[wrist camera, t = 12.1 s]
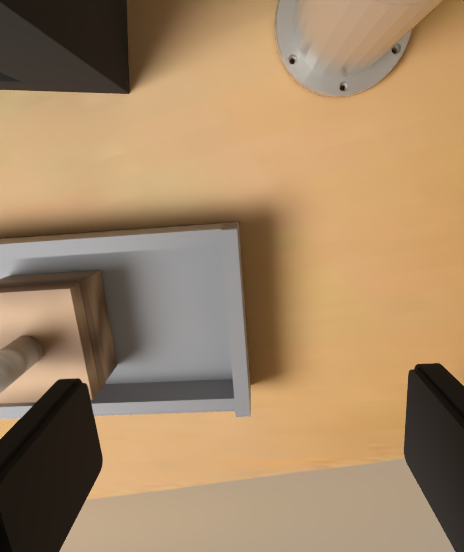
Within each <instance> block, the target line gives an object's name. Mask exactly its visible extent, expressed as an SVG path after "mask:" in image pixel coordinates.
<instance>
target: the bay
mask: <svg viewBox="0 0 464 552" xmlns="http://www.w3.org/2000/svg"><path fill="white" fill-rule="evenodd" d="M97 270H100V271H101V277H102V282H103V288H104V293H105V299H106V305H107V310H108V316H109V322H110V327H111V333H112V338H113V344H114V350H115V355H116V361H117V367H116V368H115V369H114V371H113V372H112V374H111V375H110V376H109V378H108V379H107V381H106V382H105V383H106V384H105V386H104V387H103V388H102V390H99V392H98V393H97V395H96V396H95V397H94V399H93V400H91V404H92V409H93V414H94V416H104V415H133V414H162V413H191V412H221V411H235V412H236V417H243V416H251V386H250V371H249V357H248V343H247V329H246V314H245V300H244V286H243V272H242V258H241V244H240V229H239V222H230V223H216V224H202V225H188V226H173V227H159V228H145V229H131V230H117V231H103V232H89V233H75V234H60V235H46V236H32V237H18V238H4V239H0V279H2V278H4V277H7V276H18V275H34V274H49V273H65V272H81V271H97ZM35 403H36V402H27V403H0V419H16V418H22V416H23V415H24V414H25V413H26V412H27V411H28V410H29V409H30V408H31V407H32V406H33V405H34V404H35Z"/></svg>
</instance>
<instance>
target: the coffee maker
mask: <svg viewBox="0 0 464 552" xmlns="http://www.w3.org/2000/svg"><path fill="white" fill-rule="evenodd" d="M0 90H29V91H59V92H90V93H120V94H129V66H128V37H127V7H126V0H0Z"/></svg>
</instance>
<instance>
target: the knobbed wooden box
mask: <svg viewBox="0 0 464 552" xmlns="http://www.w3.org/2000/svg"><path fill="white" fill-rule="evenodd" d="M116 367H117V361H116V355H115V350H114V344H113V338H112V333H111V327H110V322H109V316H108V310H107V305H106V299H105V293H104V288H103V282H102V277H101V271H100V270H97V271H81V272H65V273H49V274H34V275H18V276H7V277H4V278H2V279H0V403H27V402H37V401H38V400H39V399H40V398H41V397H42V396H43V395H44V394H45V393H46V392H47V391H48V389H49V388H50V387H51V386H52V385H53V384H54V383H55V382H56V381H57V380H59V379H73V378H79V379H81V381H82V383H86V384H87V386H88V389H89V394H90V399H91V400H93V399H94V397H95V396H96V395H97V393H98V392H99V390H102V388H103V387H104V386H105V384H106V383H105V382H106V381H107V379H108V378H109V376H110V375H111V374H112V372H113V371H114V369H115V368H116Z"/></svg>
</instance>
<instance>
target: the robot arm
mask: <svg viewBox="0 0 464 552" xmlns="http://www.w3.org/2000/svg"><path fill="white" fill-rule="evenodd" d="M442 1H443V0H279V2H278V6H277V11H276V18H275V40H276V44H277V49H278V53H279V55H280V58H281V60H282V63H283V65H284V67H285V68H286V70H287V71H288V73H289V74H290V76H291V77H292V78H293V79H294V80H295V81H296V82H297V83H298V84H299V85H300V86H302V87H303V88H305V89H306V90H308V91H310V92H312V93H315V94H317V95H320V96H324V97H330V98H341V97H348V96H352V95H356V94H359V93H361V92H363V91H365V90H367V89H369V88H371V87H372V86H374V85H375V84H377V83H378V82H379V81H380V80H382V79H383V78H384V77H385V76H386V75H387V74H388V73H389V72H390V71H391V70H392V69H393V68H394V66H395V65H396V64H397V63H398V61H399V60H400V58H401V56H402V55H403V53H404V51H405V49H406V46H407V44H408V41H409V39H410V36H411V32H412V29H413V28H414V27H415V26H416V25H417V24H418V23H419V22H420V21H421V20H422V19H423V18H424V17H425V16H427V15H428V14H429V13H430V12H431V11H432V10H433V9H434V8H435V7H436V6H437V5H438V4H439V3H440V2H442ZM392 49H393V50H395V54H393V53H392ZM290 60H294V62H295V63H294V64H290V62H289V61H290ZM340 86H343V87H344V91H341V90H340ZM404 455H405V459H406V462H407V464H408V466H409V468H410V470H411V472H412V473H413V475H414V477H415V479H416V481H417V483H418V484H419V486H420V488H421V490H422V492H423V494H424V495H425V497H426V499H427V501H428V503H429V504H430V506H431V508H432V510H433V512H434V513H435V515H436V517H437V518H438V521H439V522H440V524H441V526H442V528H443V530H444V532H445V533H446V535H447V537H448V539H449V540H450V542H451V544H452V546H453V548H454V550H455V551H456V552H464V386H463V385H462V384H461V383H460V382H459V381H458V380H457V379H456V378H455V377H454V376H453V375H452V374H450V373H449V372H448V371H447V370H446V369H445V368H444V367H443V366H442V365H441V364H439V363H434V364H417V365H416V366H415V369H414V370H410V371H409V375H408V390H407V407H406V424H405V440H404ZM102 461H103V459H102V453H101V448H100V443H99V438H98V433H97V428H96V424H95V419H94V414H93V409H92V404H91V399H90V394H89V389H88V386H87V384H86V383H82V381H81V379H79V378H73V379H59V380H57V381H56V382H55V383H54V384H53V385H52V386H51V387H50V388H49V389H48V391H47V392H46V393H45V394H44V395H43V396H42V397H41V398H40V399H39V400H38V401H37V402H36V403H35V404H34V405H33V406H32V407H31V408H30V409H29V410H28V411H27V412H26V413H25V414H24V415H23V416H22V418H21V419H20V420H19V421H18V422H17V423H16V424H15V425H14V426H13V427H12V428H11V429H10V430H9V431H8V432H7V433H6V434H5V435H4V436H3V437H2V438H1V439H0V552H59V551H60V549H61V547H62V545H63V543H64V541H65V539H66V537H67V535H68V533H69V531H70V529H71V527H72V525H73V524H74V522H75V519H76V518H77V516H78V514H79V512H80V510H81V508H82V506H83V504H84V502H85V500H86V498H87V496H88V494H89V492H90V491H91V489H92V487H93V485H94V483H95V481H96V479H97V477H98V475H99V473H100V471H101V468H102Z"/></svg>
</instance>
